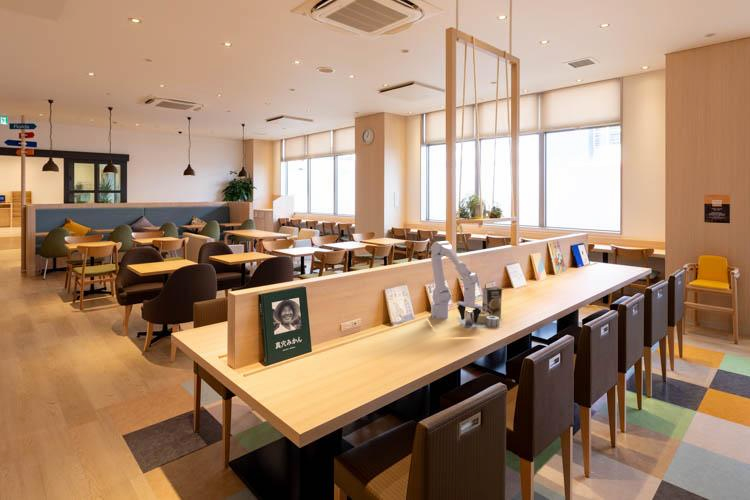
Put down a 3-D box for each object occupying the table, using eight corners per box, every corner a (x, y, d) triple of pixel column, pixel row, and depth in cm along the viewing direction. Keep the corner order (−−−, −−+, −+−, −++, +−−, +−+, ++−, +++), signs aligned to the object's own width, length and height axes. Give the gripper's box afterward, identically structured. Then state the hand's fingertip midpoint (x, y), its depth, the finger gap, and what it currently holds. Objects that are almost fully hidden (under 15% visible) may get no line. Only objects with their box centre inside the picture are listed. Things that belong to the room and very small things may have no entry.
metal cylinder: (466, 325, 241) (466, 312, 240) (464, 323, 245) (464, 310, 244) (473, 325, 241) (473, 312, 240) (471, 323, 245) (472, 310, 244)
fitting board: (464, 330, 236) (464, 320, 235) (456, 319, 256) (456, 310, 255) (502, 329, 237) (502, 319, 236) (491, 318, 257) (491, 309, 256)
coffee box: (487, 317, 258) (487, 290, 256) (481, 314, 265) (482, 287, 262) (501, 316, 261) (502, 289, 259) (495, 313, 267) (496, 286, 265)
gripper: (453, 295, 243) (453, 319, 245) (477, 299, 233) (477, 324, 235) (460, 292, 248) (460, 317, 250) (484, 296, 238) (484, 321, 240)
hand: (469, 320), depth 243 cm, fingers open, 7 cm apart
